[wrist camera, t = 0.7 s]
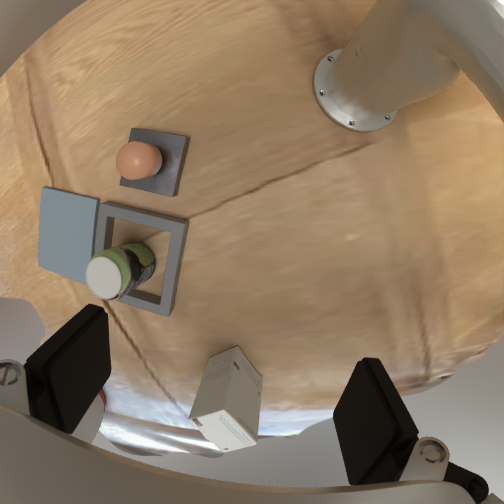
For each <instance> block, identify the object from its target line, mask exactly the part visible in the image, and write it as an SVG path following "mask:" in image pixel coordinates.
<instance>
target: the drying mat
mask: <svg viewBox="0 0 504 504" xmlns="http://www.w3.org/2000/svg"><path fill="white" fill-rule="evenodd" d="M99 204H100V199H97V198H93V197H89V196H84V195H80V194H76V193H71V192H67V191H63V190H58V189H54V188H50V187H42V192H41V203H40V216H39V242H38V263H39V266H40V267H42V268H45V269H47V270H50V271H52V272H55V273H57V274H60V275H62V276H65V277H68V278H70V279H73V280H75V281H78V282H81V283H83V284H86V285H87V283H86V278H85V272H86V268H87V265H88V263H89V261H90V259H91V258H92V257H93V256H94V252H95V240H96V230H97V220H98V212H99Z"/></svg>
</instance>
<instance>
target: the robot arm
mask: <svg viewBox="0 0 504 504" xmlns="http://www.w3.org/2000/svg"><path fill="white" fill-rule="evenodd" d="M328 60H331V61H328ZM460 69H461V70H462V71H463V72H464V73H465V74H466V75H467V76H468V78H469V79H470V80H471V81H472V82H474V83H475V85H476V86H477V87H478V88H479V90H480V91H481V92H482V93H483V95H484V96H485V97H486V99H487V100H488V101H489V103H490V104H491V105H492V107H493V108H494V110H495V111H496V112H497V114H498V115H499V117H500V118H501V120H502V121H503V123H504V0H377V1H376V3H375V4H374V6H373V7H372V9H371V10H370V12H369V13H368V14H367V16H366V17H365V19H364V20H363V22H362V23H361V24H360V26H359V27H358V29H357V30H356V31H355V33H354V34H353V36H352V37H351V38H350V40H349V41H348V43H347V44H346V46H345V47H344V48H340V49H337V50H334V51H332V52H330V53H328V54H327V55H326V56H325V57H324V58H323V59H322V60H321V61H320V63H319V64H318V66H317V68H316V70H315V74H314V79H313V87H314V92H315V96H316V98H317V101H318V103H319V105H320V106H321V108H322V110H323V111H324V112H325V113H326V114H327V115H328V116H329V117H330V118H331V119H332V120H333V121H334V122H336V123H337V124H339V125H341V126H342V127H345V128H347V129H349V130H353V131H358V132H370V131H375V130H378V129H381V128H383V127H385V126H387V125H388V124H389V123H391V122H392V121H393V119H394V118H395V116H396V115H397V113H398V110H399V109H400V108H403V107H405V106H408V105H410V104H413V103H416V102H418V101H421V100H424V99H426V98H429V97H431V96H434V95H437V94H439V93H441V92H443V91H445V90H447V89H448V88H449V87H450V86H451V85H452V84H453V83H454V81H455V80H456V78H457V76H458V75H459V72H460ZM319 93H322V94H323V96H321V95H320V94H319ZM385 117H386V118H387V119H385ZM349 122H351V124H352V125H349ZM26 361H27V362H26V363H25V364H24V365H23V366H22V364H20V363H19V362H18V361H15V360H10V359H5V360H0V504H504V502H503V501H502V500H501V499H499V498H498V497H497V496H496V495H494V494H493V493H491V494H490V495H488V492H489V488H488V484H487V482H486V481H485V480H484V479H483V478H482V477H481V476H479V475H477V474H475V473H473V472H470V471H468V470H466V469H464V468H462V467H459V466H457V465H455V464H453V463H451V462H449V455H450V454H449V450H448V448H447V447H446V445H445V444H444V443H443V442H442V441H440V440H438V439H437V438H434V437H423V438H421V439H419V438H418V436H417V434H418V433H419V431H418V429H417V427H416V425H415V423H414V421H413V419H412V418H411V416H410V414H409V412H408V410H407V408H406V406H405V404H404V403H403V401H402V399H401V397H400V395H399V393H398V391H397V390H396V388H395V386H394V384H393V382H392V381H391V379H390V377H389V375H388V374H387V372H386V370H385V368H384V366H383V365H382V363H381V361H380V360H379V359H378V358H367V357H365V358H363V359H362V361H358V362H357V364H356V366H355V369H354V371H353V373H352V375H351V377H350V379H349V381H348V384H347V386H346V388H345V390H344V392H343V394H342V396H341V398H340V400H339V402H338V404H337V406H336V408H335V410H334V412H333V420H334V424H335V428H336V432H337V436H338V440H339V443H340V448H341V452H342V456H343V460H344V464H345V468H346V472H347V477H348V481H349V484H350V485H353V486H340V487H278V486H263V485H252V484H243V483H235V482H228V481H221V480H214V479H209V478H203V477H198V476H193V475H188V474H184V473H179V472H175V471H171V470H167V469H163V468H160V467H156V466H152V465H149V464H145V463H142V462H139V461H136V460H133V459H130V458H127V457H124V456H121V455H118V454H115V453H112V452H110V451H107V450H104V449H102V448H99V447H97V446H94V445H92V444H90V443H87V442H85V441H82V440H80V439H78V438H75V437H73V436H71V435H69V434H72V433H73V432H74V431H75V429H76V428H77V426H78V424H79V423H80V421H81V420H82V418H83V416H84V415H85V413H86V412H87V410H88V409H89V407H90V406H91V404H92V402H93V401H94V399H95V398H96V396H97V395H98V393H99V392H100V390H101V389H102V387H103V386H104V384H105V383H106V381H107V380H108V378H109V376H110V374H111V358H110V345H109V326H108V314H107V313H106V312H105V310H104V308H103V307H100V306H97V305H93V304H88V305H87V306H85V307H84V308H83V309H82V310H81V311H80V312H78V313H77V314H76V315H75V316H74V317H73V318H72V319H70V320H69V321H68V322H67V323H66V324H65V325H64V326H62V327H61V328H60V329H59V330H58V331H57V332H56V333H55V334H54V335H52V336H51V337H50V338H49V339H48V340H47V341H46V342H45V343H44V344H43V345H42V346H40V348H38V349H37V350H36V351H35V352H34V353H33V354H32V355H31V356H30V357H29V358H28V359H27V360H26Z"/></svg>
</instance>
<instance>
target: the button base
mask: <svg viewBox="0 0 504 504" xmlns="http://www.w3.org/2000/svg"><path fill="white" fill-rule="evenodd" d="M133 141H136V142H142V143H147V144H152V145H154V146H156V147H157V148H158V149H159V151H160V153H161V155H162V164H161V167H160V169H159V171H158V172H157V173H156V174H155V175H154V176H152V177H150V178H144V179H135V180H130V179H126V178H124V177H123V176H122V175H121V180H120V185H121V186H126V187H130V188H135V189H140V190H144V191H149V192H153V193H157V194H162V195H166V196H170V197H174V196H177V192H178V187H179V183H180V178H181V174H182V170H183V165H184V161H185V157H186V153H187V149H188V145H189V141H190V138H188V137H185V136H180V135H174V134H168V133H162V132H156V131H150V130H143V129H136V128H132V129H131V133H130V137H129V141H128V143H129V142H133Z"/></svg>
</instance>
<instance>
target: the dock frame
mask: <svg viewBox="0 0 504 504" xmlns="http://www.w3.org/2000/svg"><path fill="white" fill-rule="evenodd" d="M114 218H117V219H121V220H125V221H129V222H133V223H137V224H141V225H145V226H148V227H152V228H156V229H160V230H164V231H168V232H172V234H171V240H170V246H169V251H168V257H167V263H166V269H165V276H164V282H163V289H162V296H161V297H159V296H155V295H152V294H149V293H146V292H142V291H139V290H136V289H134V290H132V291H131V292H129V293H128V294H126V295H125V296H123V297H122V298H120V299H118V300H116V301H119V302H122V303H125V304H128V305H131V306H134V307H137V308H141V309H144V310H147V311H150V312H153V313H156V314H160V315H163V316H166V317H169V316H170V314H171V312H172V311H173V308H174V302H175V295H176V289H177V284H178V278H179V272H180V267H181V261H182V256H183V250H184V245H185V240H186V235H187V230H188V225H189V221H188V220H184V219H180V218H176V217H172V216H168V215H163V214H159V213H155V212H151V211H147V210H143V209H139V208H135V207H131V206H126V205H122V204H118V203H114V202H110V201H107V202H103V203H100V207H99V215H98V223H97V232H96V243H95V254H96V253H97V252H100V251H102V250H106V249H110V248H111V243H112V234H113V226H114Z"/></svg>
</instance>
